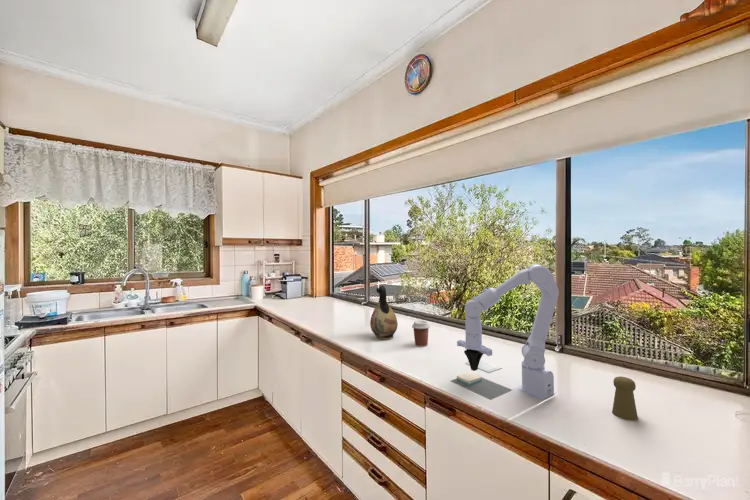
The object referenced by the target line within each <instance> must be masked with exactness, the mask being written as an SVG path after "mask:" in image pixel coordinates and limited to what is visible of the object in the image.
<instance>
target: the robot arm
mask: <svg viewBox="0 0 750 500" xmlns="http://www.w3.org/2000/svg"><path fill="white" fill-rule="evenodd" d="M531 282H532V283H533V284H535V285H536V287H537V288H538V290H539V292H540V293H541V296H540V300H539V304H538V306H537V310H536V313H535V317H534V320H533V324H532V328H531V331H530V335H529V337H528V338H527V340H526V343H525V344H523V346H522V347H521V355H522V356H523V361H521V386H518V387H516V389H517V390H519V391H521V392H524V393H525V394H529V395H532V396H534V397H537V398H539V399H542V400H543V399H546V398H548V397H550V396H552V395H553V394H556V392H555V386H554V385H555V381H554V377H555V376H554V373H553V371H552V370H549V369H547V367H546V366H545V363H546V359H545V351H546V340H547V336H548V335H549V330H550V327H551V323H552V320H553V316H554V312H555V309H556V306H557V302H558V298H559V295H560V290H559V288H558V286H557V285H558V284H557V282H556V279H555V276H554V274H553V273H552V272H551V271H550V270H549V268H547V267H546V266H543V265H541V264H538V263H534V264H531V265H529V266H528V267H525V268H523V269H521V270H520V271H518V272H517V273H515V274H514V275H512V276H510V278H508V279H507V280H505V281H503V282H502V283H501V284H500V285H498V286H497V287H495V288H494V287H488V288H484V289H483V291H482V292H481V293H480V294H478V295H477V296H472V299H470V300H468V301H467V302H466V303H465V305H464V312H465V316H464V317H465V320H464V322H465V323H464V327H465V340H462V339H459V340H457V341H456V346H457V347H463V348H465V350H464V355H465V356H466V358H467V360H468V361H467V362H469V364H470V365H469V367H470V371H473V372H475V371H478V370H479V369H478V365H479V362H480V360H482V357H483V356H484V355H486V356H487V357H490V356H493V349H491V348H490V347H489V348H488V347H487V346H485V345H484V344H483V337H482V335H483V333H482V332H483V330H482V328H483V327H482V326H483V325H482V319H481V317H482V316H481V315H482V313H483V311H486V310H488V309H490V308H492V307H493V306H495V305H496V304H497V303H499V302H500V301H501V297H502V296H503V295H505V294H506V293H507V294H508V292H509V291H512V290H513V289H515V288H517V287H519V286H520V285H531Z"/></svg>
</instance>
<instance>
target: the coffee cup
mask: <svg viewBox="0 0 750 500" xmlns="http://www.w3.org/2000/svg"><path fill="white" fill-rule="evenodd" d="M430 327H431V326H430V324H429V323H428V321H426V320H415V321H414V322H413V324H412V327H411V328H412V329H413V338H414V346H415V347H418V348H426V347H428V346H429V345H428V342H429V329H430Z"/></svg>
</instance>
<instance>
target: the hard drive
mask: <svg viewBox="0 0 750 500" xmlns="http://www.w3.org/2000/svg"><path fill="white" fill-rule="evenodd" d="M464 364H465V365H468V366H470V364H469V361H465V363H464ZM501 369H503V368H502V367H501V366H498V365H495V364H492V363H489V362H487V361H485V360H482V359H480V362H479V365H478V369H477V370H480V371H483V372H486V373H488V374H490V373H493V372H496V371H500V370H501Z"/></svg>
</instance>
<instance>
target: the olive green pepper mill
mask: <svg viewBox="0 0 750 500" xmlns="http://www.w3.org/2000/svg"><path fill="white" fill-rule="evenodd" d="M612 381H613V382H612V383H613V386H614V388H615V392H614V396H613V397H614V398H613V404H612V411H611V412H612V415H614V416H615V417H617V418H619V419H622V420H625V421H631V422H632V421H634V422H635V421H637V420H638V419H639V417H638V413H637V412H638V411H637V406H636V399H635V395H634V391H636V388H637V387H636V382H635V381H634V380H633V379H632V378H630V377H628V376H627V377H626V376H615V377H614V378H613V380H612Z"/></svg>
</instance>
